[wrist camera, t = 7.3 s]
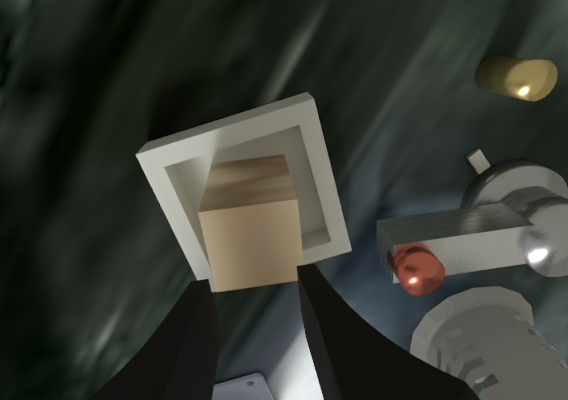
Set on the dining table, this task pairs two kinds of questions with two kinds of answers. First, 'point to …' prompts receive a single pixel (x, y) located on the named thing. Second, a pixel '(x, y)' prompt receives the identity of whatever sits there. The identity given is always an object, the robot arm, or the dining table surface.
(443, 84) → the dining table surface
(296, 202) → the block
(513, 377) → the french press
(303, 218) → the tray
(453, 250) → the crank
